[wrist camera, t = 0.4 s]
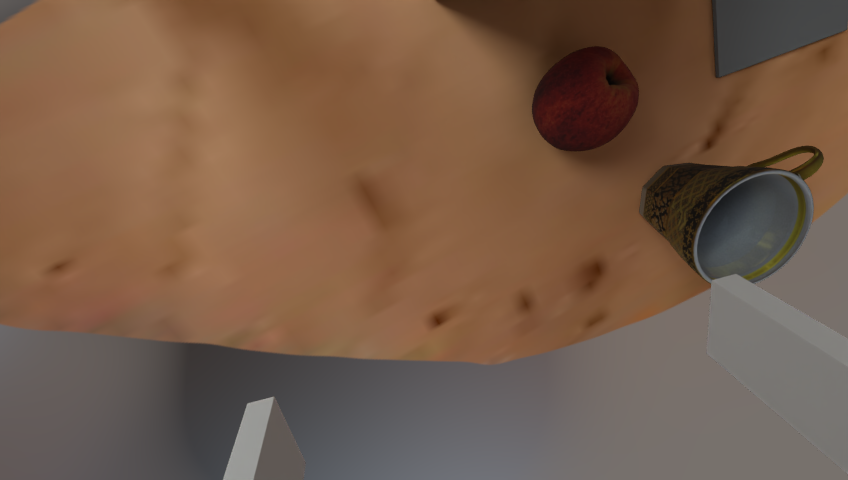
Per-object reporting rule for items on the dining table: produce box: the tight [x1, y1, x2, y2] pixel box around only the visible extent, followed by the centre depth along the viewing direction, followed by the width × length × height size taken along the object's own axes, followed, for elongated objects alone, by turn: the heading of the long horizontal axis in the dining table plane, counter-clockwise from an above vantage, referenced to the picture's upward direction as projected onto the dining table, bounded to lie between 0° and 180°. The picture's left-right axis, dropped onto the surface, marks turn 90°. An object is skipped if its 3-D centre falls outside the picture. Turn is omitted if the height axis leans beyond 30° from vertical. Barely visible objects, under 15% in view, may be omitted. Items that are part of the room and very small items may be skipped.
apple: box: [532, 46, 639, 151], centre depth 34 cm, size 7×8×8 cm
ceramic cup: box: [639, 146, 824, 284], centre depth 38 cm, size 13×10×10 cm
